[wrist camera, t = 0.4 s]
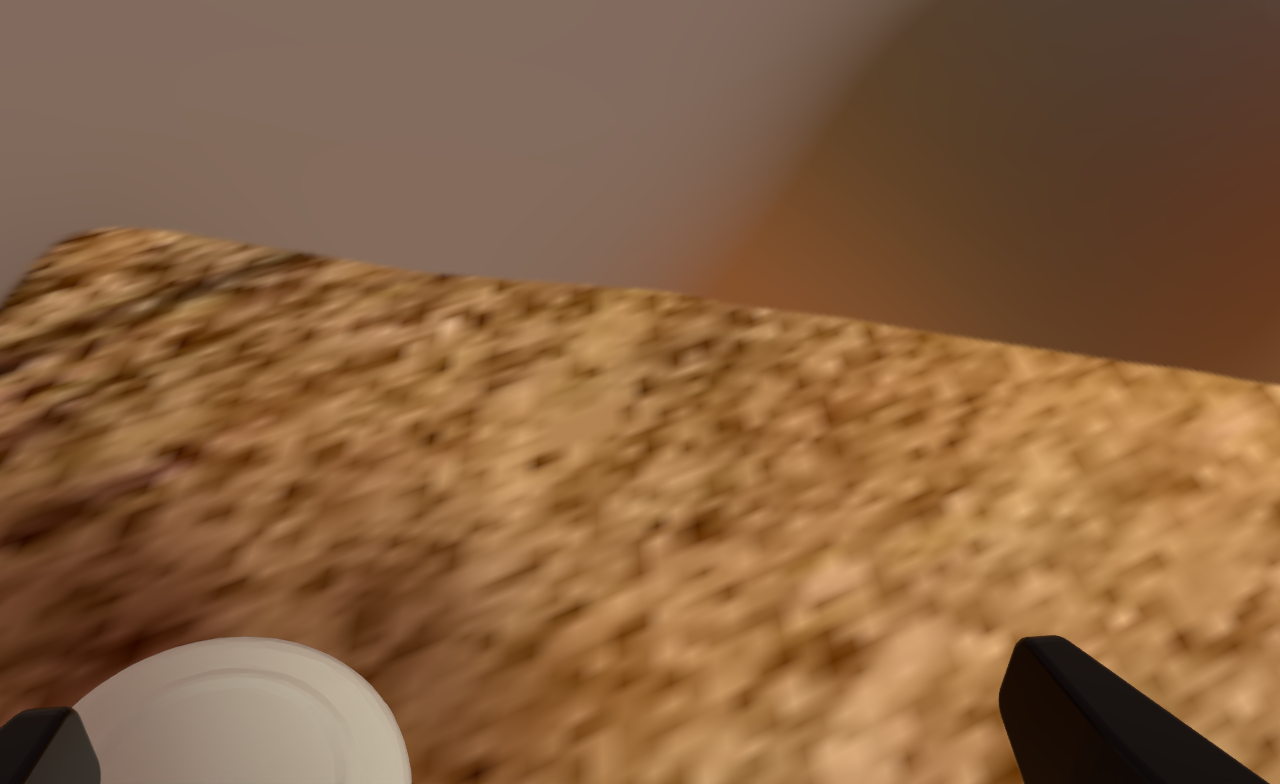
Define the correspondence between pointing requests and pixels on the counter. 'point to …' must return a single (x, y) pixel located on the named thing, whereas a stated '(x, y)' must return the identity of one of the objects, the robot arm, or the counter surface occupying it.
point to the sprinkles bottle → (243, 719)
